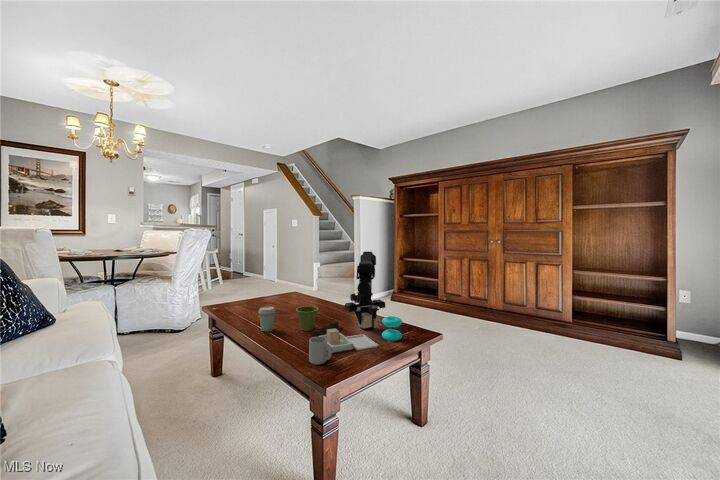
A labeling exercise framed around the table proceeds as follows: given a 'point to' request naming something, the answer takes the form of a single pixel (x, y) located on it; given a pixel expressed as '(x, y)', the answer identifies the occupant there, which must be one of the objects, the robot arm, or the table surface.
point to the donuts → (392, 333)
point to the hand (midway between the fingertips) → (364, 323)
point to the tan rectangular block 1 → (332, 336)
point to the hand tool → (325, 329)
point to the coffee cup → (266, 318)
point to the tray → (362, 342)
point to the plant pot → (307, 317)
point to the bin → (340, 344)
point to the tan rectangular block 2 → (366, 320)
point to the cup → (319, 350)
